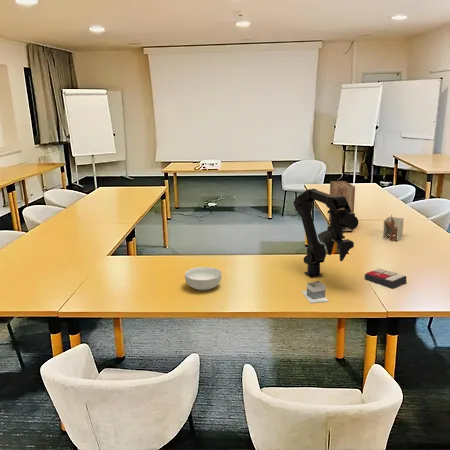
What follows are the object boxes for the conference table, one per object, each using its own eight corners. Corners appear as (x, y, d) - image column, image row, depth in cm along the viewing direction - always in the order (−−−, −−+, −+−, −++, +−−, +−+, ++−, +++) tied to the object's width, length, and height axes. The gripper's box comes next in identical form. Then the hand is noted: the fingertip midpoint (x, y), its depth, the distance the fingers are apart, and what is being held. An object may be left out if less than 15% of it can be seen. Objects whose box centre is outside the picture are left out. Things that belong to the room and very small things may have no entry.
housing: (318, 292, 194) (319, 280, 193) (325, 297, 190) (325, 284, 188) (306, 294, 192) (307, 282, 191) (312, 299, 188) (313, 286, 186)
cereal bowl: (209, 297, 194) (209, 282, 192) (178, 290, 202) (177, 276, 200) (228, 283, 208) (228, 269, 206) (198, 278, 216) (197, 264, 214)
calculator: (378, 267, 215) (407, 274, 203) (378, 275, 216) (406, 283, 204) (364, 272, 209) (392, 280, 197) (364, 281, 210) (392, 289, 198)
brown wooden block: (353, 232, 286) (355, 186, 278) (338, 233, 286) (340, 187, 278) (341, 222, 310) (343, 180, 303) (328, 223, 310) (330, 180, 302)
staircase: (382, 240, 269) (384, 214, 265) (387, 236, 278) (389, 210, 274) (397, 242, 264) (399, 215, 260) (402, 238, 273) (404, 211, 269)
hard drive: (301, 290, 197) (310, 302, 185) (319, 289, 198) (329, 300, 186) (301, 294, 198) (310, 305, 186) (319, 292, 198) (329, 304, 187)
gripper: (309, 221, 202) (309, 254, 206) (332, 231, 185) (331, 267, 189) (331, 219, 206) (329, 251, 210) (355, 228, 189) (353, 263, 193)
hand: (335, 258), depth 200 cm, fingers open, 9 cm apart
